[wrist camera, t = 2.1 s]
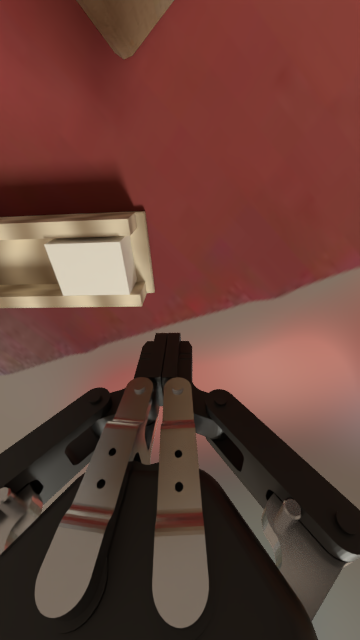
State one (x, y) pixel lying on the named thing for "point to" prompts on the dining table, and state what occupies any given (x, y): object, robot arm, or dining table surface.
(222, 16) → the dining table surface
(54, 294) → the birch chute
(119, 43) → the wooden block
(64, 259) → the off-white block
